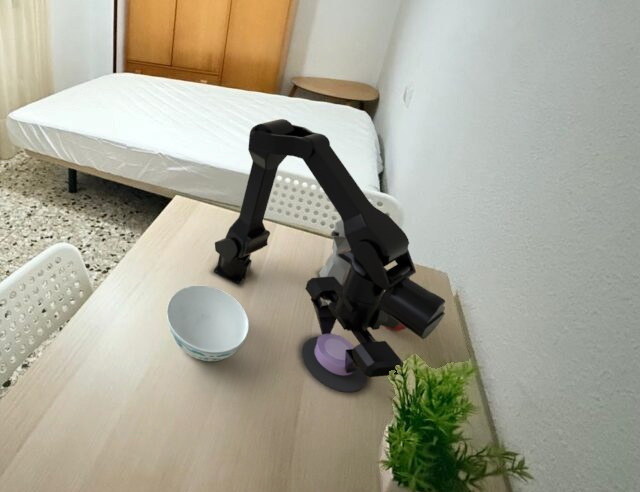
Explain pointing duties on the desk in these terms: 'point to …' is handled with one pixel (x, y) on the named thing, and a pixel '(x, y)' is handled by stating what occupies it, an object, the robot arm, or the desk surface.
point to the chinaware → (207, 322)
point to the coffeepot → (336, 255)
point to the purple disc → (332, 352)
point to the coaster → (328, 378)
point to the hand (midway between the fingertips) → (336, 353)
